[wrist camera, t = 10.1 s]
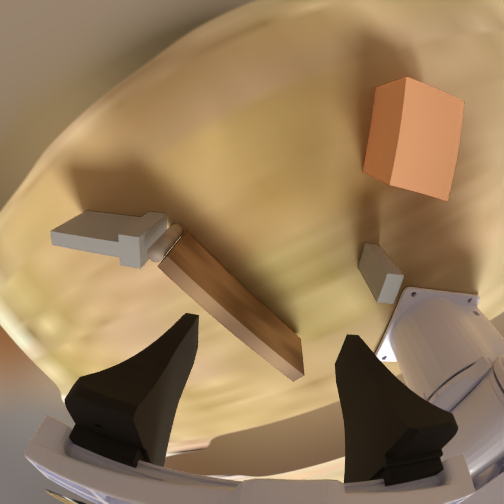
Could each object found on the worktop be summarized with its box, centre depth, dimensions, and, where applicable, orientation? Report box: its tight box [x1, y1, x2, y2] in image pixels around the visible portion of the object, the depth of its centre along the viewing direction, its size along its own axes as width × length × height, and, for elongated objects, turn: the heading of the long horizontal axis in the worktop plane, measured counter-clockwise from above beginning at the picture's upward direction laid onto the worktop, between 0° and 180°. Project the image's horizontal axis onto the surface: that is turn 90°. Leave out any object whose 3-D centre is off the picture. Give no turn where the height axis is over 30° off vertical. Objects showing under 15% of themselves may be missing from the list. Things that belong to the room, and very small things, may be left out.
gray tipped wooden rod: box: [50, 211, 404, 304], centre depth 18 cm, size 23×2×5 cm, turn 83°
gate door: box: [147, 223, 304, 382], centre depth 20 cm, size 14×1×4 cm, turn 43°
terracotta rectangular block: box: [362, 77, 464, 201], centre depth 14 cm, size 4×6×5 cm, turn 173°
